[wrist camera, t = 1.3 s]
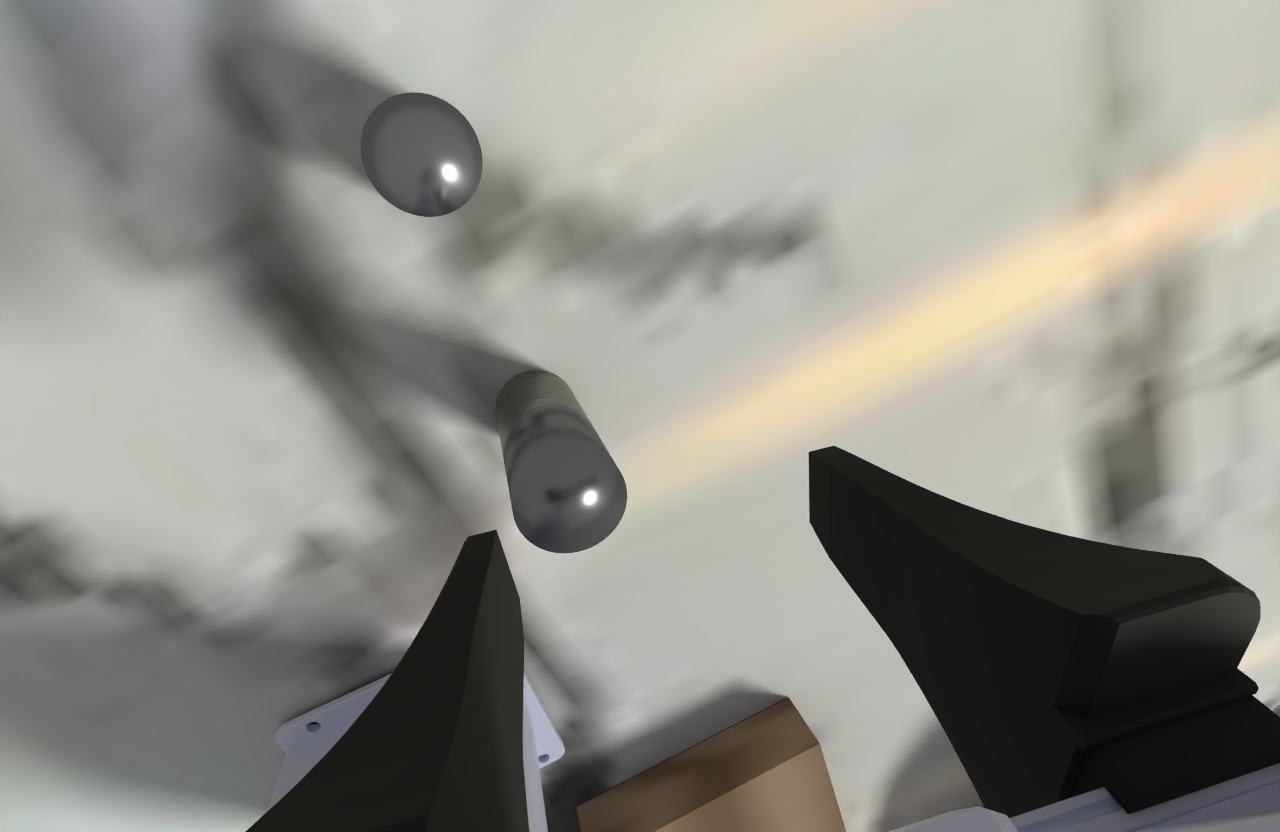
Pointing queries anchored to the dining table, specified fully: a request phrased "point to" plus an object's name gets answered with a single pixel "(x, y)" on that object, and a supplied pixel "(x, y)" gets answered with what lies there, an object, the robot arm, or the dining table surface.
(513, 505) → the tall pin
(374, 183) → the short pin
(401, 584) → the dining table surface
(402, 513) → the dining table surface
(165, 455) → the dining table surface
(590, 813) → the hole plate
